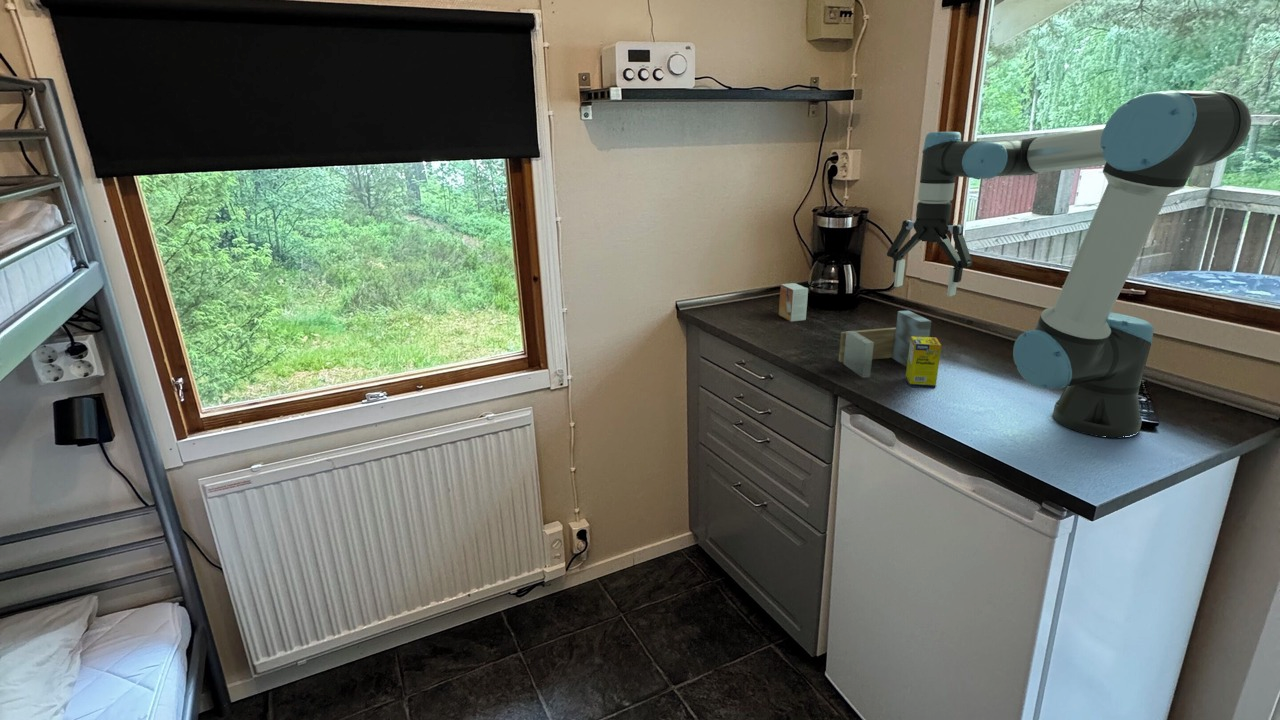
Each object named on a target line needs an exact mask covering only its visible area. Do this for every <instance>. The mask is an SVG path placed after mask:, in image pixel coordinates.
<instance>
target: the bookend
mask: <svg viewBox="0 0 1280 720" xmlns="http://www.w3.org/2000/svg"><path fill="white" fill-rule="evenodd" d="M855 331H856V330H848V331H847V330H846V331H845V332H846V341H845V352H844V362H842V363H843V365H844V366H845V367H847V368H848V369H850V370H851V371H853V372H854V373H855V374H857V375H858V376H859V377H861V378H862V379H863V378H864V379H865V378H871V372H872V371H871V370H872V363H873V359H872V355H873V346H874V342H872V341H870V340H869V339H867V338H865V337H863V336H862V335H860V334H858V333H857V332H855Z"/></svg>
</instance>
